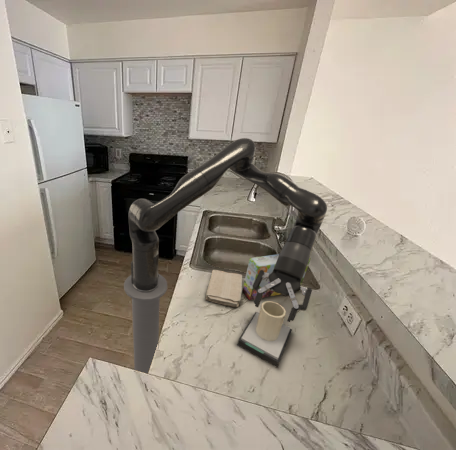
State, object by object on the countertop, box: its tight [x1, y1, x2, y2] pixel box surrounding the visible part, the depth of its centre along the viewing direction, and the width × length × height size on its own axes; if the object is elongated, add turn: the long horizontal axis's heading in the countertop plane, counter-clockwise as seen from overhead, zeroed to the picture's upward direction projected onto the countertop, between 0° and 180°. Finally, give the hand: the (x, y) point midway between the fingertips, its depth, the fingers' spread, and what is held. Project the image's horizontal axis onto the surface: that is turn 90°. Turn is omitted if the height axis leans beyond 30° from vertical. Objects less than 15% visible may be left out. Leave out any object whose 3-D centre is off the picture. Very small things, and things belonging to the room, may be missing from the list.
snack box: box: [242, 253, 311, 301], centre depth 91 cm, size 21×6×15 cm, turn 105°
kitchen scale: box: [237, 311, 293, 368], centre depth 74 cm, size 11×14×3 cm
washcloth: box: [205, 269, 243, 308], centre depth 94 cm, size 12×18×3 cm, turn 162°
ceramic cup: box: [256, 300, 287, 341], centre depth 72 cm, size 6×6×9 cm
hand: (271, 313), depth 70 cm, fingers open, 8 cm apart
